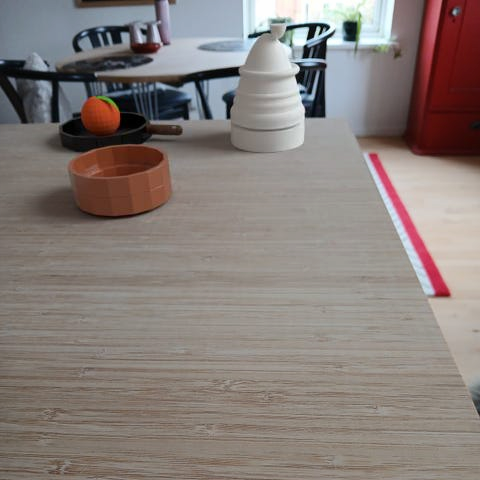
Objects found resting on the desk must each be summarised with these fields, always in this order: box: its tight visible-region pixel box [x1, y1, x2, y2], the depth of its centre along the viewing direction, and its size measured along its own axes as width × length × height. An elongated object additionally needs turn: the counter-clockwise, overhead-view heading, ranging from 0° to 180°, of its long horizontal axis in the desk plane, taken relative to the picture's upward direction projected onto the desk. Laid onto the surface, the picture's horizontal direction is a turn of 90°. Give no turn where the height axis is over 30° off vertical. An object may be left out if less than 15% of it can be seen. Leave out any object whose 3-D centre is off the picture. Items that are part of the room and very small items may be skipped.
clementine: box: [80, 94, 121, 136], centre depth 93 cm, size 8×7×7 cm
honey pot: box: [229, 22, 306, 153], centre depth 85 cm, size 13×13×18 cm
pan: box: [58, 111, 184, 153], centre depth 94 cm, size 23×16×3 cm
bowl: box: [66, 144, 173, 217], centre depth 71 cm, size 13×13×6 cm
